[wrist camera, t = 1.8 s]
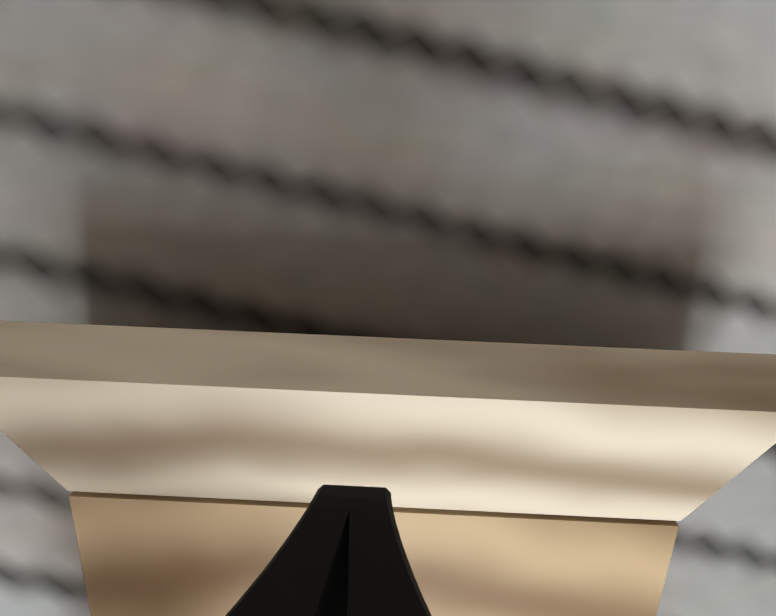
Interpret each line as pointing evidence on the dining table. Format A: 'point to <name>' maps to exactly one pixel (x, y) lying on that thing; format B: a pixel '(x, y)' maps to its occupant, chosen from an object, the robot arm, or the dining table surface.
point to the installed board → (420, 541)
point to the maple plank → (384, 418)
